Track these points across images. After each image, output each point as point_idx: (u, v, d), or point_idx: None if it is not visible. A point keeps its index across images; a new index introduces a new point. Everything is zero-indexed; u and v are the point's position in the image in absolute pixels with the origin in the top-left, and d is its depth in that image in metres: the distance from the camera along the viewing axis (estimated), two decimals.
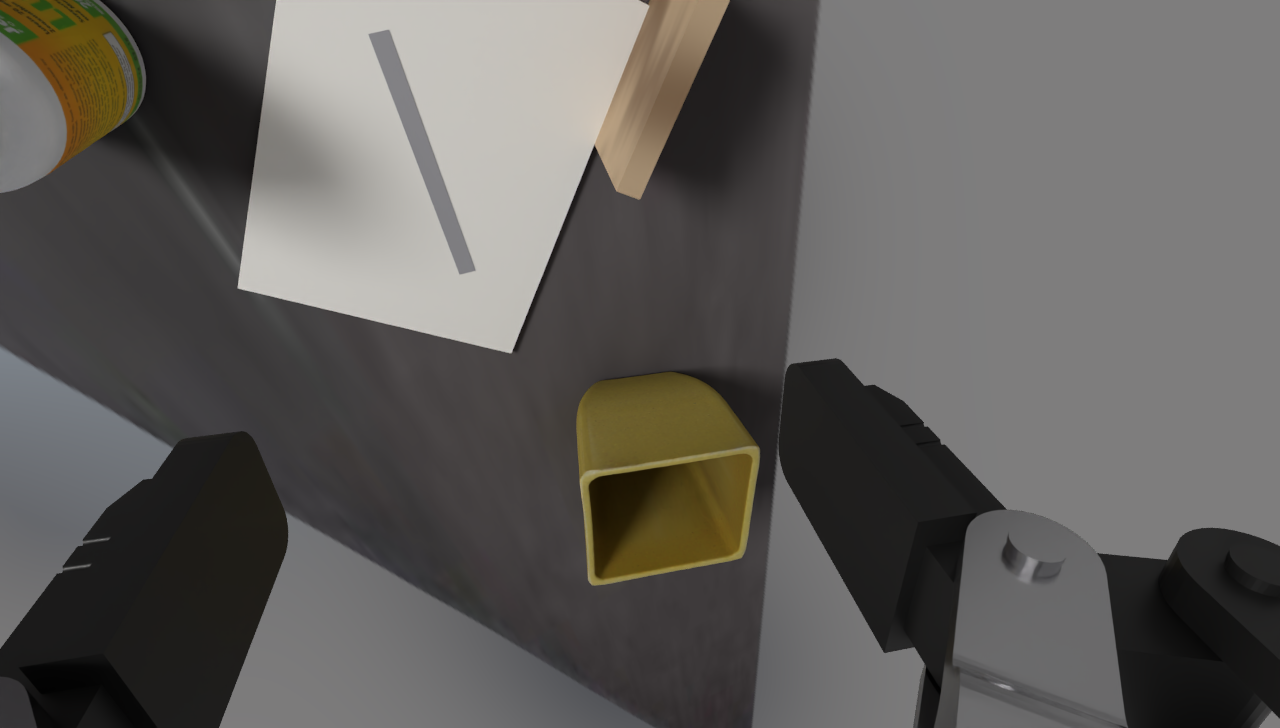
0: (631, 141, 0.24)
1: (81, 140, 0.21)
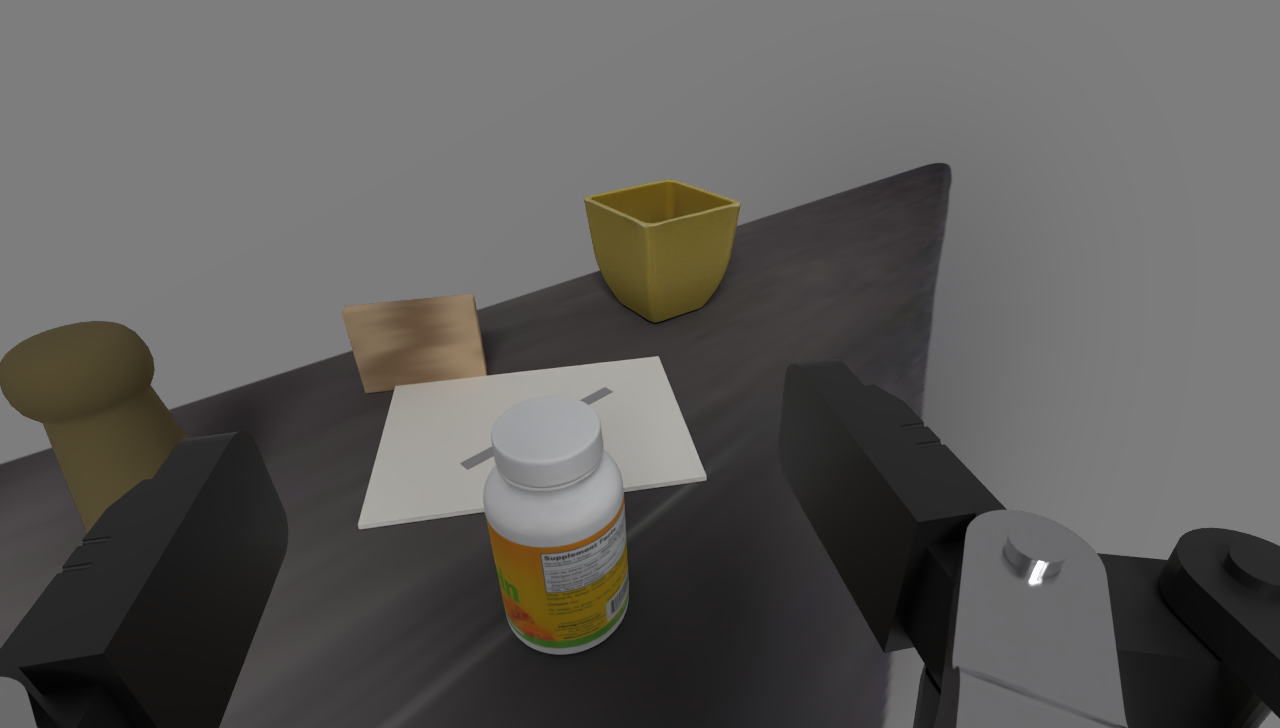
0: (446, 313, 0.41)
1: None
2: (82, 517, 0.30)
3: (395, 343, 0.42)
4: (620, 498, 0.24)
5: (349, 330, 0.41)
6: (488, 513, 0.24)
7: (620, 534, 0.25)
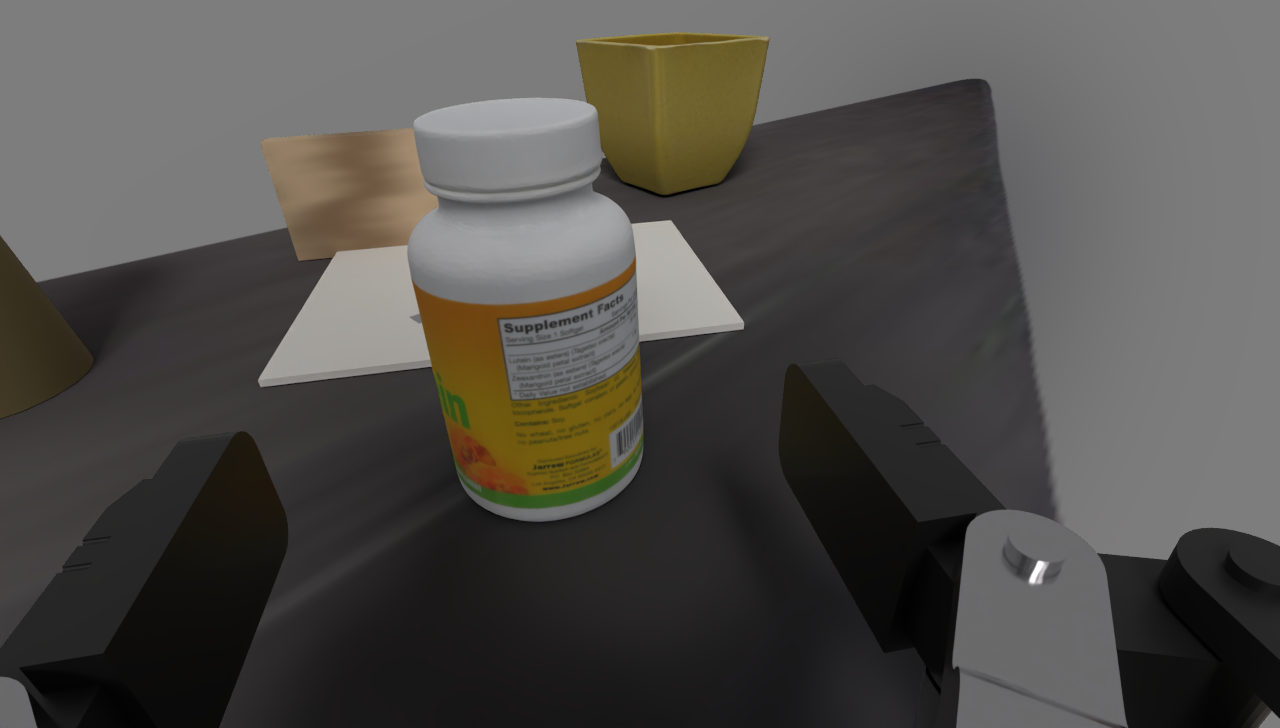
0: (398, 148, 0.32)
1: None
2: None
3: (333, 190, 0.32)
4: (630, 249, 0.15)
5: (272, 168, 0.31)
6: (412, 263, 0.14)
7: (631, 317, 0.16)
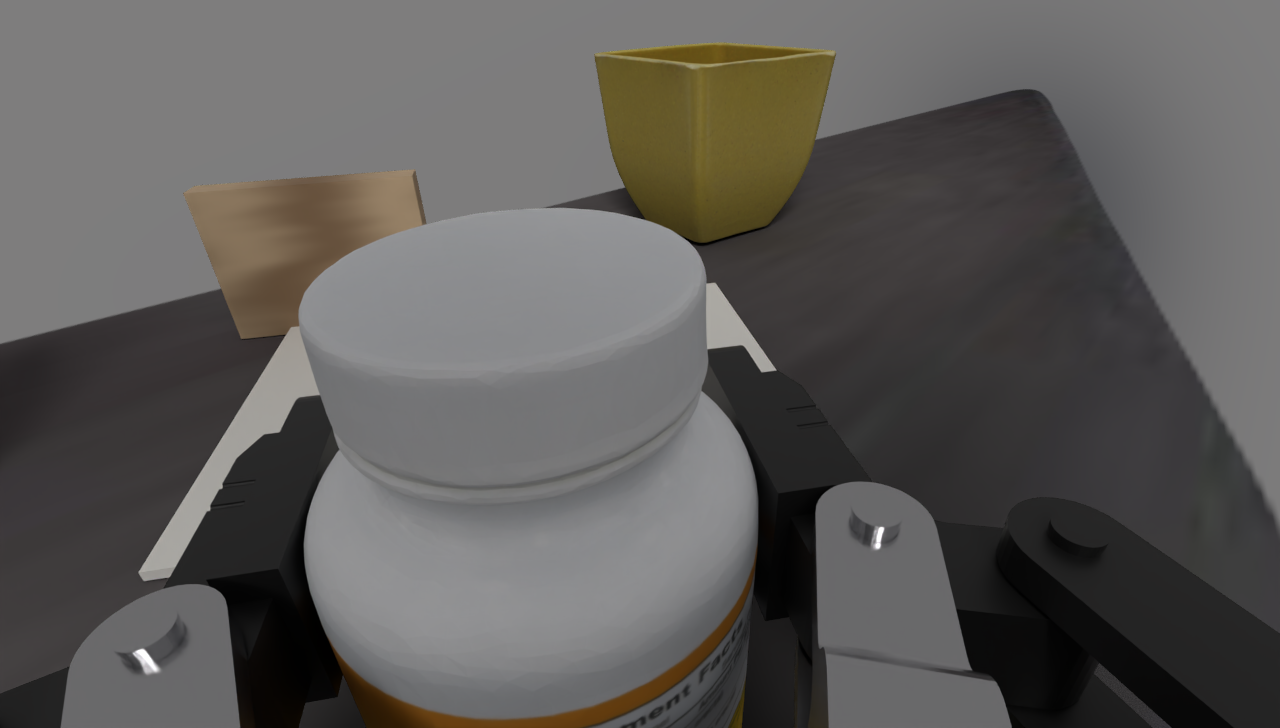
0: (368, 198, 0.24)
1: None
2: None
3: (284, 252, 0.25)
4: (757, 522, 0.07)
5: (201, 226, 0.24)
6: (308, 581, 0.07)
7: None
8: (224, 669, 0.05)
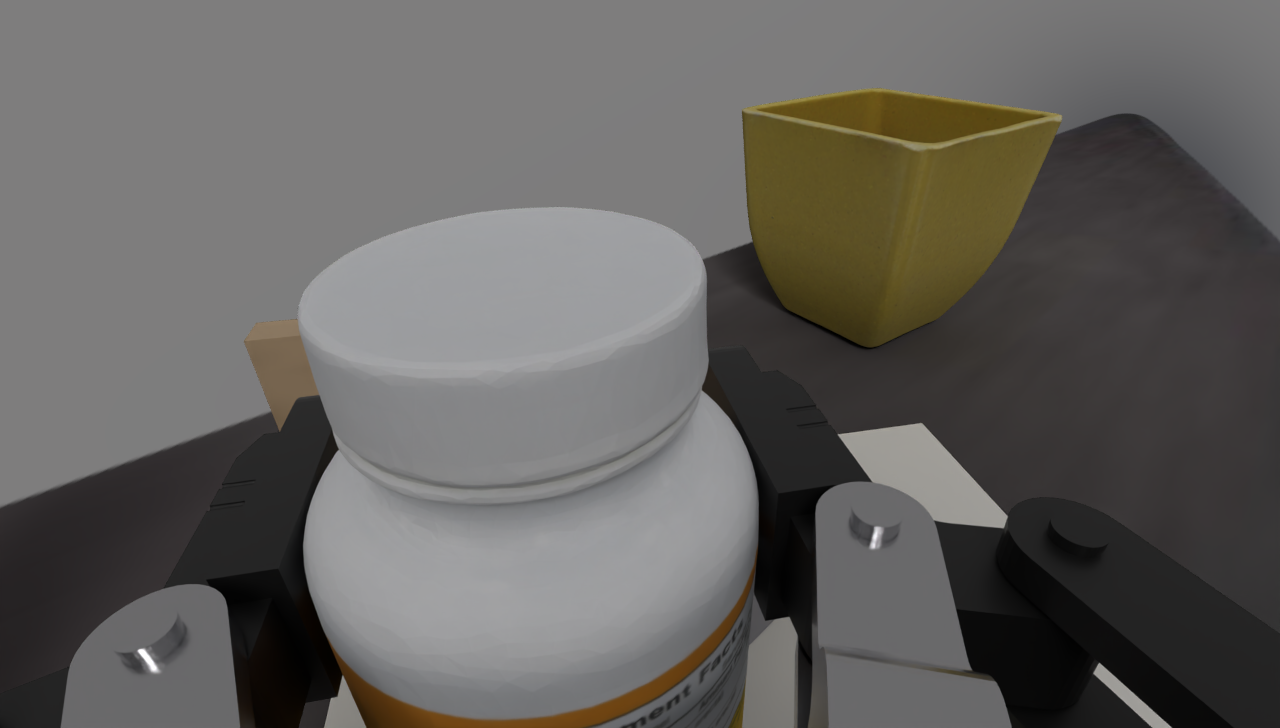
0: None
1: None
2: None
3: None
4: (757, 522, 0.07)
5: (266, 381, 0.17)
6: (307, 581, 0.07)
7: None
8: (224, 669, 0.05)
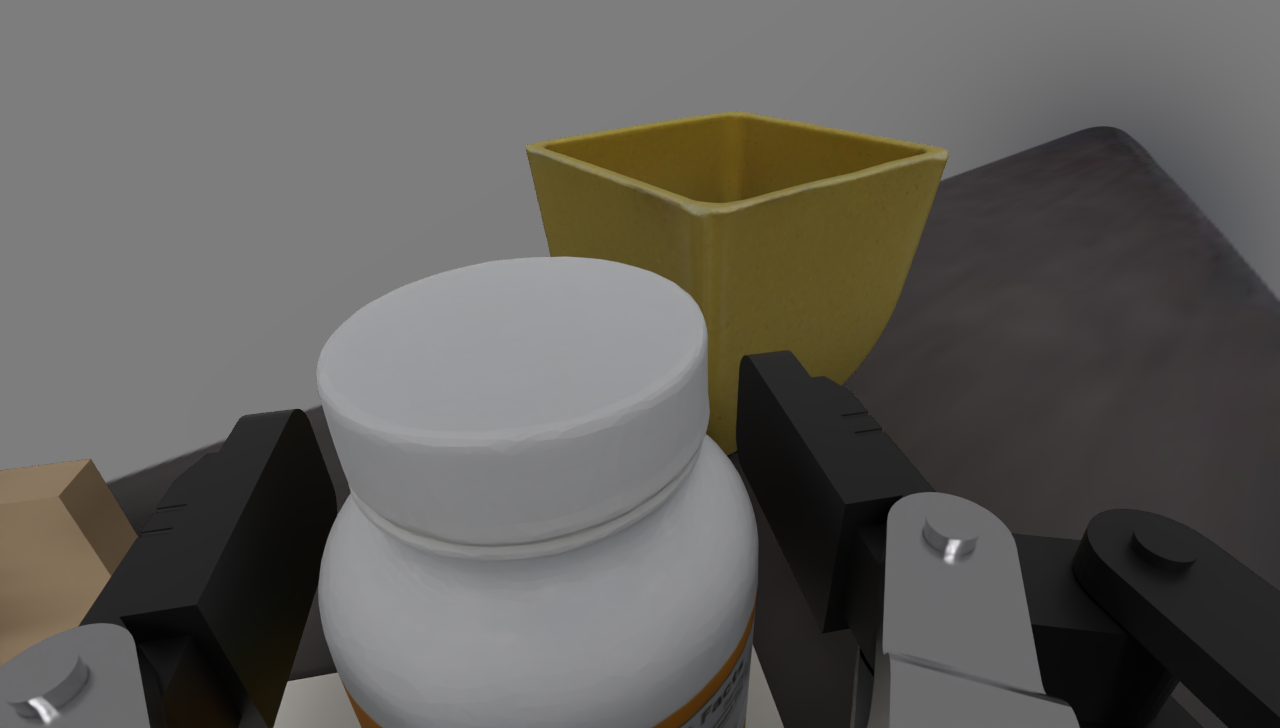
0: None
1: None
2: None
3: None
4: (757, 565, 0.08)
5: None
6: None
7: None
8: (121, 719, 0.05)
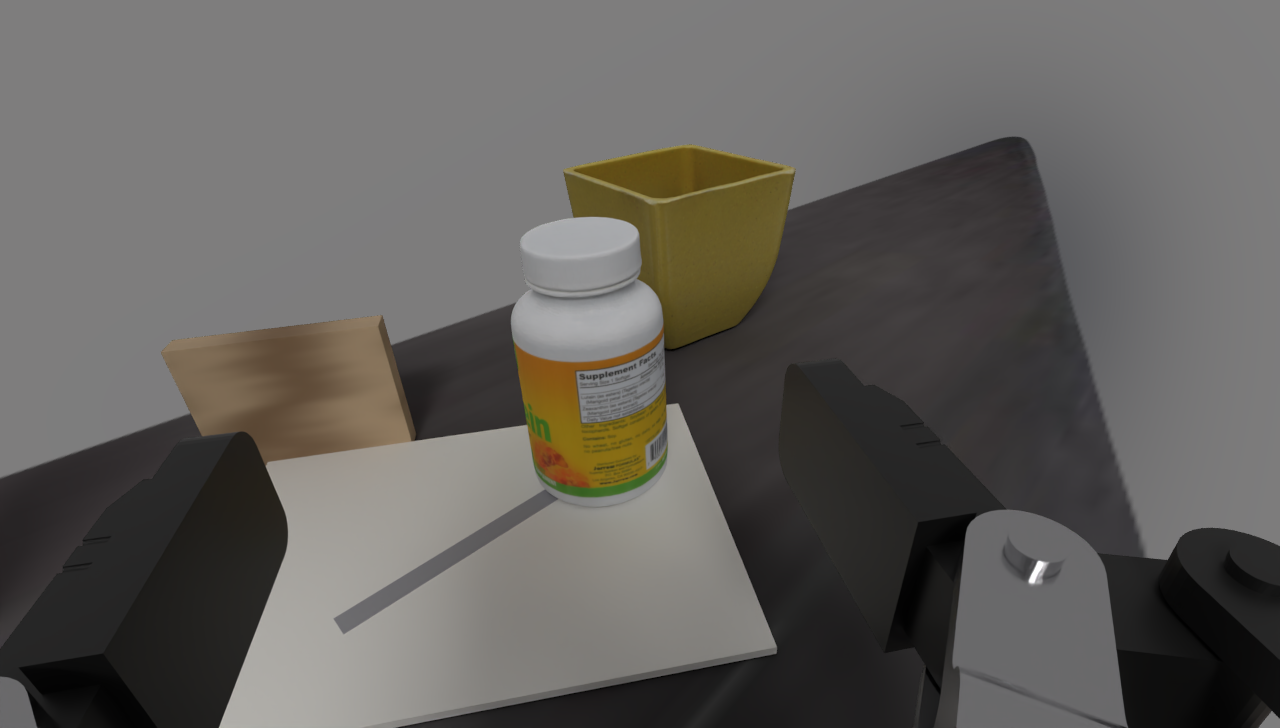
0: (336, 347, 0.26)
1: None
2: None
3: (258, 397, 0.26)
4: (660, 321, 0.22)
5: (178, 379, 0.25)
6: (517, 333, 0.22)
7: (660, 366, 0.23)
8: None
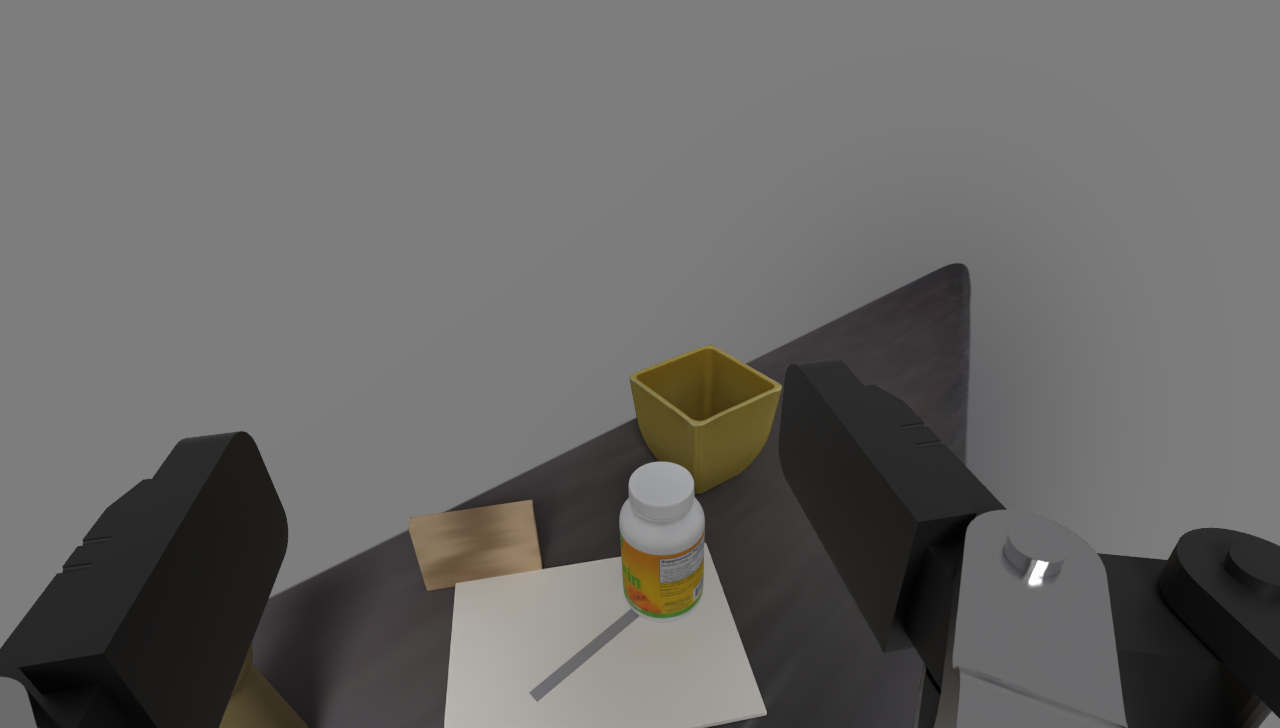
0: (507, 521, 0.43)
1: None
2: None
3: (457, 549, 0.43)
4: (704, 524, 0.40)
5: (414, 541, 0.42)
6: (626, 534, 0.39)
7: (702, 546, 0.40)
8: None
